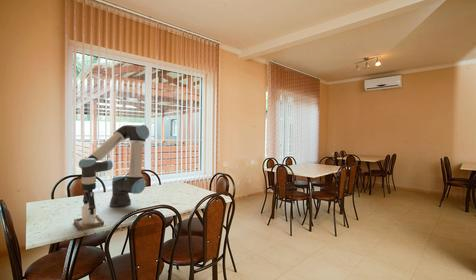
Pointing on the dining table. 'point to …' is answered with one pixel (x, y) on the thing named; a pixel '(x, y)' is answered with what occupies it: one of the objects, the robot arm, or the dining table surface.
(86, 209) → the pale pink cup
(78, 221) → the walnut tray
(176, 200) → the dining table surface
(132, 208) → the dining table surface
